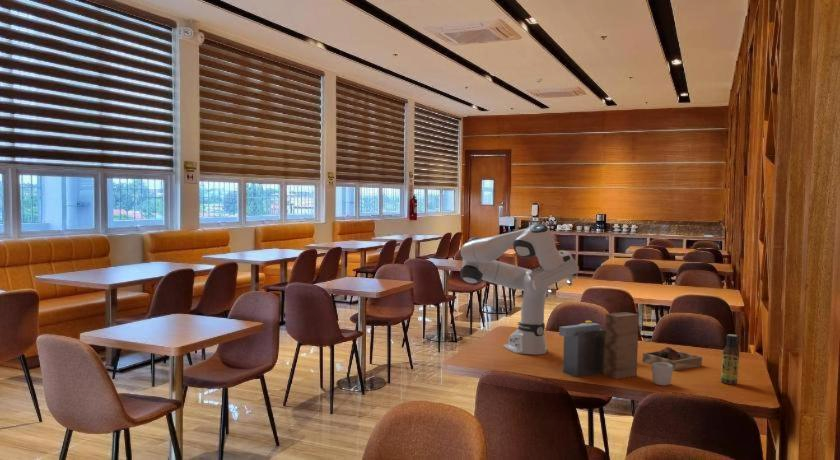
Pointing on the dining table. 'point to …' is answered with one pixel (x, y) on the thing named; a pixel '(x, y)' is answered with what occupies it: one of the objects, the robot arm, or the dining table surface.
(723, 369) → the sauce bottle
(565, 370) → the dark gray box
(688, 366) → the caddy
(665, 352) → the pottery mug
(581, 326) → the rail
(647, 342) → the dining table surface
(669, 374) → the cup
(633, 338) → the post
